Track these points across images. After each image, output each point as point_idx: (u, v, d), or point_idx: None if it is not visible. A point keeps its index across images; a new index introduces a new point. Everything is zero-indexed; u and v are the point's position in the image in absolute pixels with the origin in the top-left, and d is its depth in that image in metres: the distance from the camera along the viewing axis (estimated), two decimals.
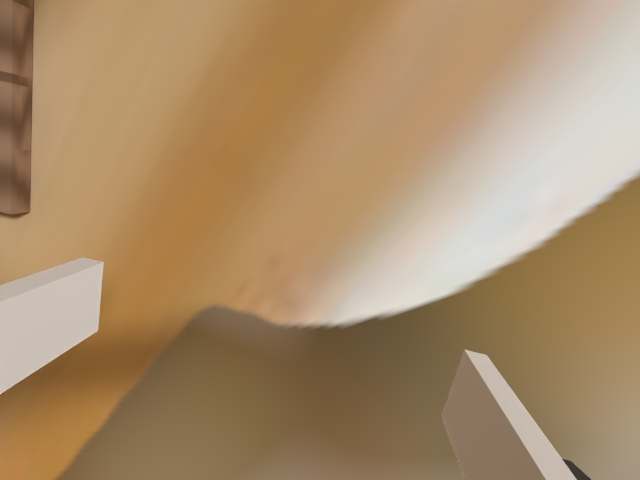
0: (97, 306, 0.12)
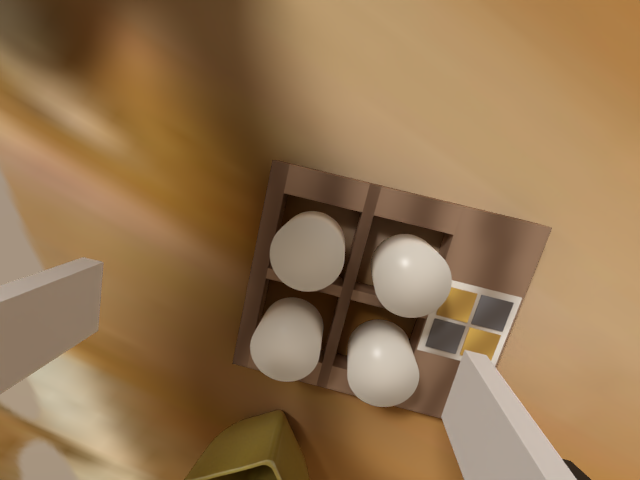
0: (97, 306, 0.12)
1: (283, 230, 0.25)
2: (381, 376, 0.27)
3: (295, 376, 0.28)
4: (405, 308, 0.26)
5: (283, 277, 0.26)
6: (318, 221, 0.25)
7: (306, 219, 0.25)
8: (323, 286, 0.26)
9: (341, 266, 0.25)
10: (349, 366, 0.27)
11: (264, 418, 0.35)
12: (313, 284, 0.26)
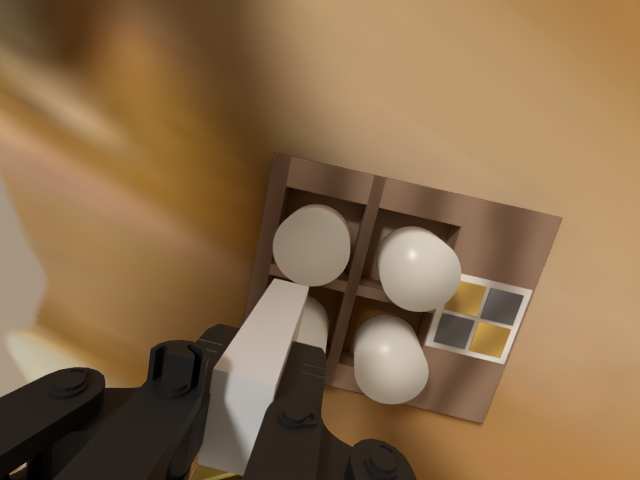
0: None
1: (286, 223, 0.24)
2: (389, 373, 0.26)
3: None
4: (413, 302, 0.25)
5: (287, 272, 0.25)
6: (322, 213, 0.24)
7: (310, 211, 0.24)
8: (328, 280, 0.25)
9: (347, 259, 0.25)
10: (356, 363, 0.26)
11: None
12: (318, 278, 0.25)
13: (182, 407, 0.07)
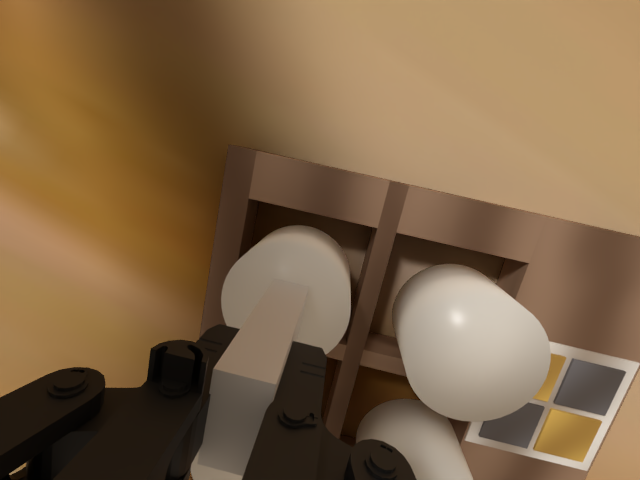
0: None
1: (243, 262, 0.14)
2: None
3: None
4: (462, 405, 0.14)
5: None
6: (303, 247, 0.14)
7: (282, 244, 0.14)
8: None
9: (345, 324, 0.15)
10: None
11: None
12: None
13: (182, 407, 0.07)
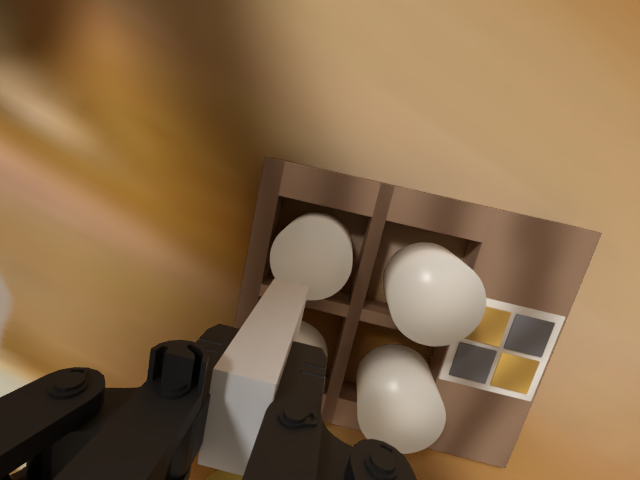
0: None
1: (284, 232, 0.23)
2: (398, 417, 0.22)
3: None
4: (428, 334, 0.21)
5: None
6: (323, 222, 0.22)
7: (309, 220, 0.22)
8: (329, 294, 0.23)
9: (349, 272, 0.23)
10: (359, 405, 0.22)
11: None
12: (318, 292, 0.23)
13: (182, 407, 0.07)
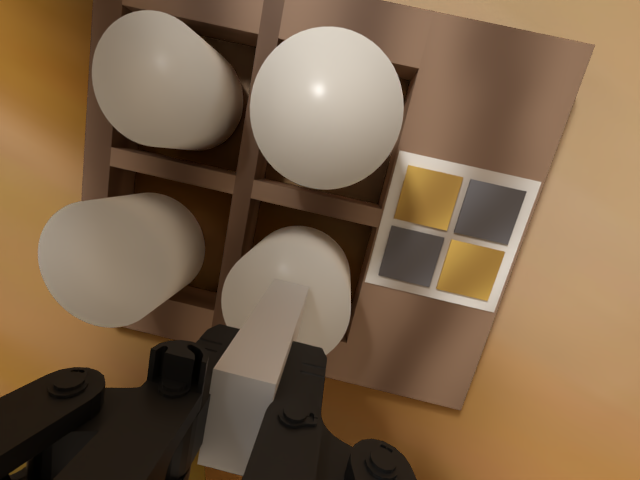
0: None
1: (109, 35, 0.15)
2: None
3: (125, 316, 0.15)
4: (315, 170, 0.13)
5: (119, 123, 0.16)
6: (164, 14, 0.14)
7: (144, 12, 0.15)
8: (184, 136, 0.15)
9: (210, 97, 0.15)
10: (224, 291, 0.15)
11: None
12: (168, 133, 0.16)
13: (182, 407, 0.07)
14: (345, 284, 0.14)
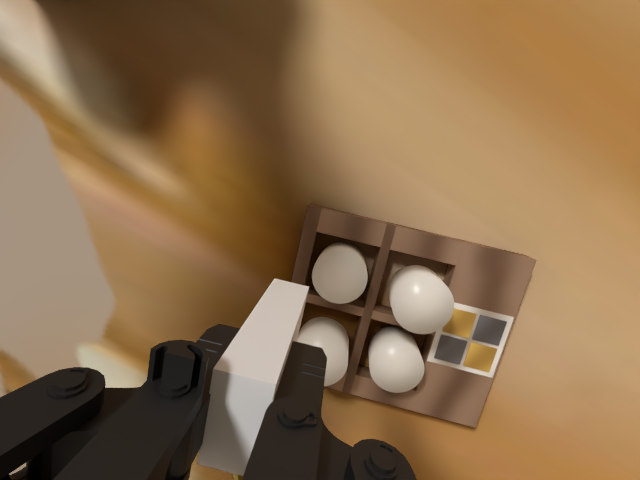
0: None
1: (322, 258, 0.34)
2: (395, 368, 0.35)
3: (327, 382, 0.34)
4: (417, 326, 0.32)
5: (321, 293, 0.35)
6: (348, 252, 0.34)
7: (339, 250, 0.34)
8: (351, 299, 0.35)
9: (365, 285, 0.34)
10: (371, 360, 0.36)
11: None
12: (344, 298, 0.35)
13: (182, 407, 0.07)
14: (422, 359, 0.35)
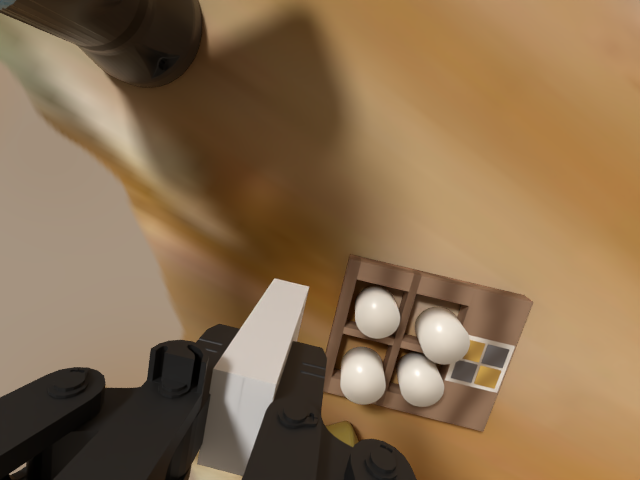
0: None
1: (364, 303, 0.43)
2: (421, 388, 0.45)
3: (369, 401, 0.43)
4: (441, 358, 0.41)
5: (363, 330, 0.44)
6: (385, 298, 0.43)
7: (378, 297, 0.43)
8: (387, 335, 0.44)
9: (398, 324, 0.43)
10: (401, 382, 0.45)
11: (338, 427, 0.50)
12: (381, 334, 0.44)
13: (182, 407, 0.07)
14: (442, 381, 0.44)
